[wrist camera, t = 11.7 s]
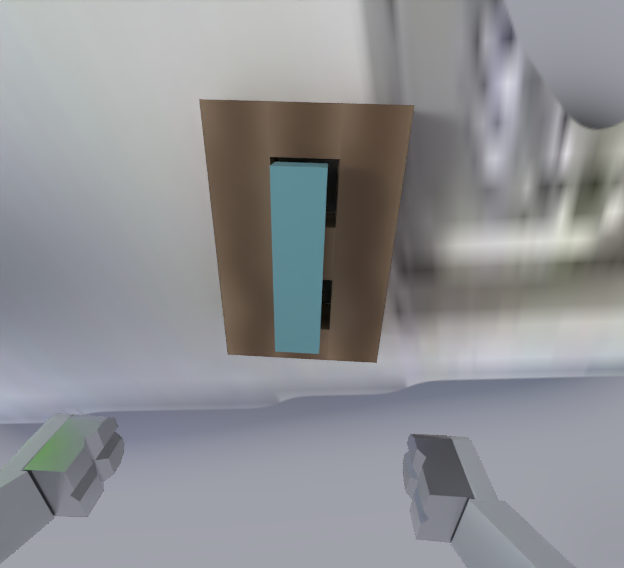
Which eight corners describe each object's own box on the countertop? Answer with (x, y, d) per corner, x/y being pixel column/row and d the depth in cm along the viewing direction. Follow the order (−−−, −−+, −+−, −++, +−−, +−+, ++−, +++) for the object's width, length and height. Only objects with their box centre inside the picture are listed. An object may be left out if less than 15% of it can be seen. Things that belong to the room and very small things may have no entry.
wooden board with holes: (240, 326, 30) (227, 354, 26) (220, 103, 22) (199, 99, 18) (370, 333, 29) (376, 362, 26) (400, 108, 21) (414, 105, 18)
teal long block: (287, 301, 28) (275, 351, 22) (286, 154, 23) (269, 165, 17) (321, 302, 28) (319, 353, 22) (328, 155, 23) (327, 167, 17)
